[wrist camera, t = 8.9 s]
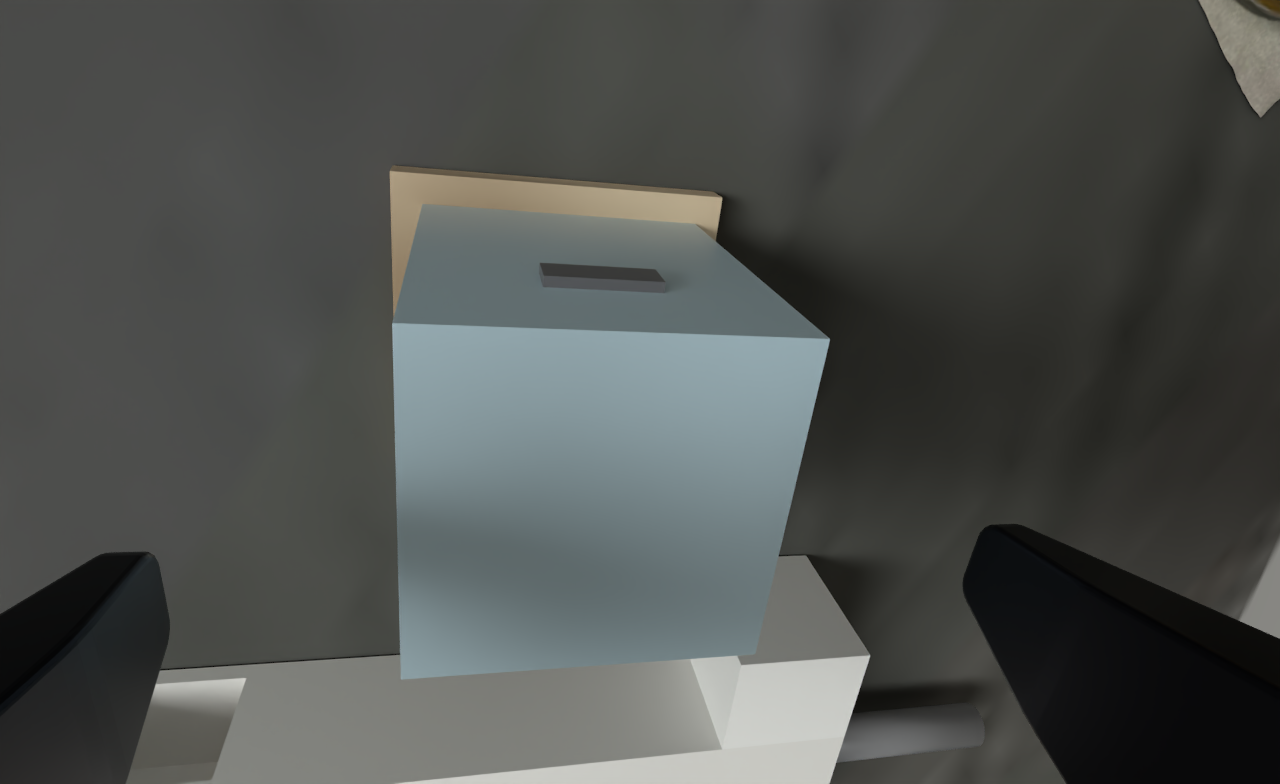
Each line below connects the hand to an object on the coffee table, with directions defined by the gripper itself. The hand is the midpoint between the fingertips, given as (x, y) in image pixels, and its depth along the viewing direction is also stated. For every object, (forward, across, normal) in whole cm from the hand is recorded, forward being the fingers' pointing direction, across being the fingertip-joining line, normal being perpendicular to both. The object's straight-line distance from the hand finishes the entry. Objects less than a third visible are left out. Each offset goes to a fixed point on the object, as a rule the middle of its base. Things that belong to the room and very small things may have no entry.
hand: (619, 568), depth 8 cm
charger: (+7, 0, +1) cm, 7 cm away
